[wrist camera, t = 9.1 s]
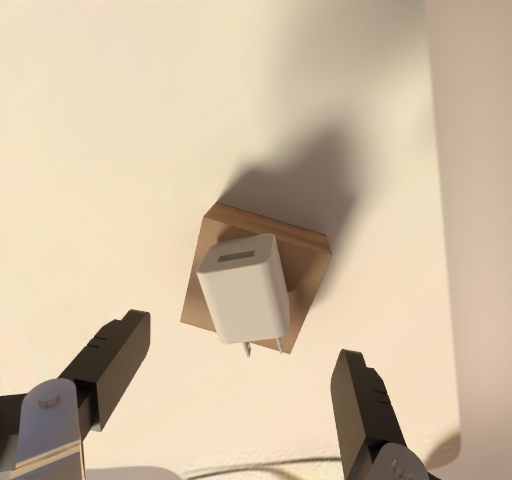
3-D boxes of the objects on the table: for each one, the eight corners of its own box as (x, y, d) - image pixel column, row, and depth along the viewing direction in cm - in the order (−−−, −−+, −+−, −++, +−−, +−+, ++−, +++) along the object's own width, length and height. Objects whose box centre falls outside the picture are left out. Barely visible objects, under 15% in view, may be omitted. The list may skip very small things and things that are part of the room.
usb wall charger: (275, 232, 17) (272, 262, 14) (296, 327, 20) (298, 374, 16) (211, 243, 18) (192, 275, 14) (238, 334, 20) (228, 381, 17)
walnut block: (217, 200, 21) (203, 216, 18) (324, 232, 21) (332, 255, 18) (196, 291, 24) (180, 321, 21) (289, 318, 24) (290, 354, 21)
